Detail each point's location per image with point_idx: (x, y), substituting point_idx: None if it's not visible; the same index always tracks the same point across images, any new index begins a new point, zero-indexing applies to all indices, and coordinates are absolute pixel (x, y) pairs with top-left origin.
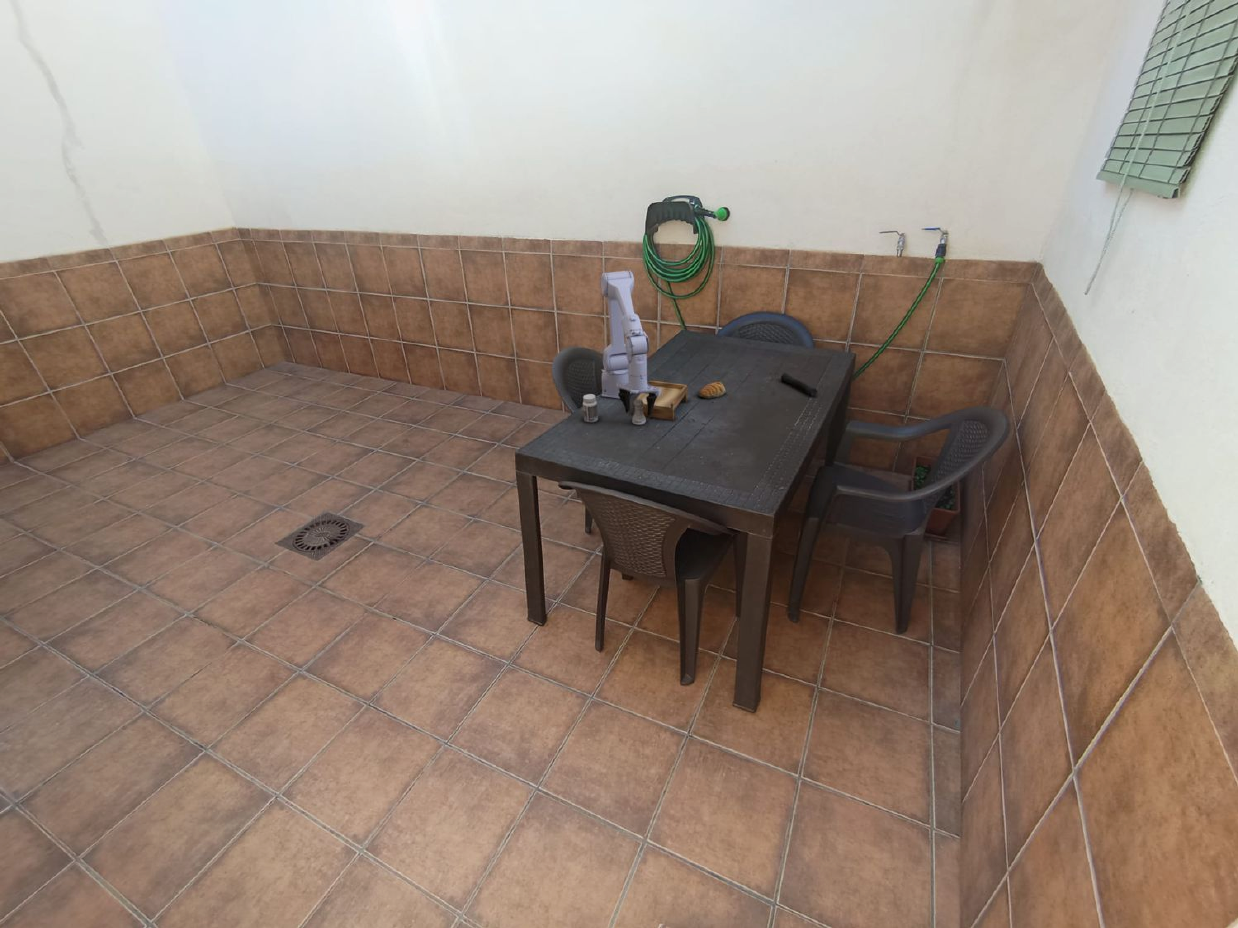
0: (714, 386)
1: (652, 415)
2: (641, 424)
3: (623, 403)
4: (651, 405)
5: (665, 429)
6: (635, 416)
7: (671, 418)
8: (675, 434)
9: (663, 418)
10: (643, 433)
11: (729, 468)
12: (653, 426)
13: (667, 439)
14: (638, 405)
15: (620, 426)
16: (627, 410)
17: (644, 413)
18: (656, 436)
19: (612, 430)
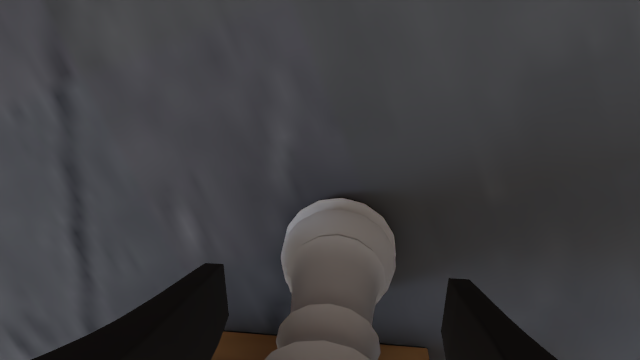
0: None
1: (272, 346)
2: (304, 211)
3: (543, 354)
4: (83, 339)
5: (108, 191)
6: (355, 250)
7: None
8: (5, 137)
9: None
10: (230, 74)
11: None
12: (210, 212)
13: (6, 34)
14: (298, 339)
15: (475, 140)
16: (456, 292)
17: None
18: (108, 56)
19: (535, 37)
